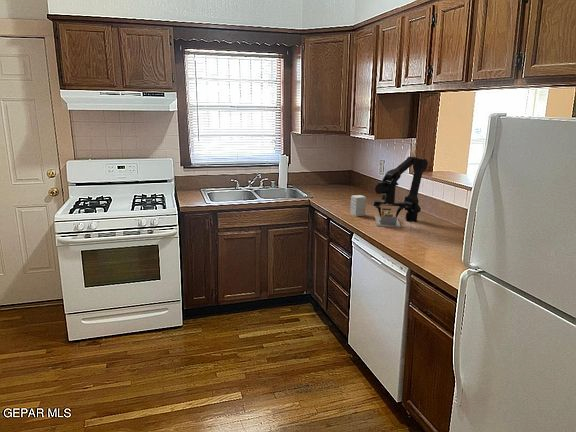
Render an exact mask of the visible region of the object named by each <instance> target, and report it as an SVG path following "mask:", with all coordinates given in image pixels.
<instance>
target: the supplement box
mask: <svg viewBox="0 0 576 432" xmlns="http://www.w3.org/2000/svg"><path fill="white" fill-rule="evenodd" d="M366 204H367V196H365V195H361V194H358V195H357V194H356V195H352V194H351V197H350V208H349V210H350V212H349V215H352V216H354V217H365V216H366Z"/></svg>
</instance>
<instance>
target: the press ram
mask: <svg viewBox="0 0 576 432" xmlns="http://www.w3.org/2000/svg"><path fill="white" fill-rule="evenodd" d="M384 211H386V212H387V211H390V212H393V213H394V210H392V207H391V208H389V207H388V208H387V207H381V216H384Z"/></svg>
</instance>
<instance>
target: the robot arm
mask: <svg viewBox="0 0 576 432" xmlns="http://www.w3.org/2000/svg"><path fill="white" fill-rule="evenodd" d="M428 164H429V161H428V160H427V159H426V158H421V157H415V156H407V158H406V159H405V160H404V161H403V162H401V163H400V164H399V165H398V166H397V167H395V168H392V169H390V170H388V171H386V173H385V175H384V176H383V178H382V180H381V181H380V182H379V181H378V182H377V184H376V185H375V188H374V191H375V193H376V194H377V195H381V200H382V201H381V200H378V199H375V200H373V204H372V205H373V207H375V209H377V211H378V213H379V214H378V216H380V218H381V210H382V207H381V206H387V207H388V206H389V207H391V206H392V207H396V212H395V217H397V218H398V216H399V214H400V212H401V211H402V210H405V211H406V212H405V217H404V219H405V220H406V222H415V223H417V222H418V214H419V213H420V212H421V211H422V208H421V206H420V205H419V197H418V193H419V190H420V184H421V181H422V177H423V174H424V172H425V171H426V170H427V167H428ZM411 167H412V169H413V175H412V181H411V185H410V188H409V193H408V195H407V196H404V200H403V201H398V202H395V199H396V190H397V189H396V188H397V186H399V183H398V181H399V180H400V178H401V177H402V174H403V173H405V172H406V171H407V170H409V169H410V168H411Z"/></svg>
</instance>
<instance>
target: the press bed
mask: <svg viewBox="0 0 576 432" xmlns="http://www.w3.org/2000/svg"><path fill="white" fill-rule="evenodd" d="M374 220H375V221H374V222H375V226H376V227H382V228H383V227H385V228H387V227H388V228H401V224H400V221H399V219H398V216H397V217H396V216H393V217H389V216H381V218H380V215H374Z"/></svg>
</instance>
